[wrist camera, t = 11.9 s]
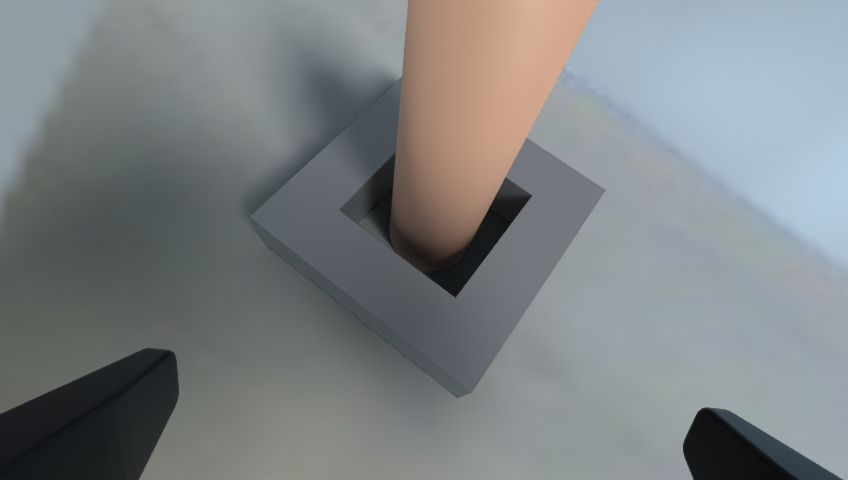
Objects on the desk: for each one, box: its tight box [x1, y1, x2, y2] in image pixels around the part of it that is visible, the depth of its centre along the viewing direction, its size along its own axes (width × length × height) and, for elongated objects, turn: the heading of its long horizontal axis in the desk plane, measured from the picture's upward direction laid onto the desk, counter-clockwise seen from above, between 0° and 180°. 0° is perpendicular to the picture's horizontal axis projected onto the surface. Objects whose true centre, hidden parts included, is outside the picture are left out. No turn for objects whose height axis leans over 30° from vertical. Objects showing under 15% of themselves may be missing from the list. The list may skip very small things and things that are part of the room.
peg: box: [389, 0, 599, 271], centre depth 15 cm, size 4×4×14 cm
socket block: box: [250, 77, 605, 397], centre depth 20 cm, size 11×11×3 cm
